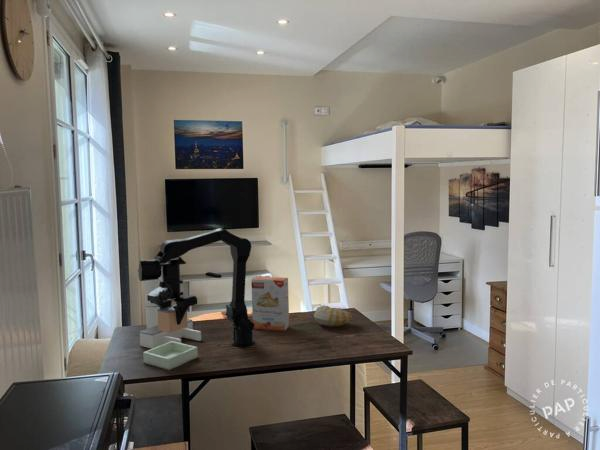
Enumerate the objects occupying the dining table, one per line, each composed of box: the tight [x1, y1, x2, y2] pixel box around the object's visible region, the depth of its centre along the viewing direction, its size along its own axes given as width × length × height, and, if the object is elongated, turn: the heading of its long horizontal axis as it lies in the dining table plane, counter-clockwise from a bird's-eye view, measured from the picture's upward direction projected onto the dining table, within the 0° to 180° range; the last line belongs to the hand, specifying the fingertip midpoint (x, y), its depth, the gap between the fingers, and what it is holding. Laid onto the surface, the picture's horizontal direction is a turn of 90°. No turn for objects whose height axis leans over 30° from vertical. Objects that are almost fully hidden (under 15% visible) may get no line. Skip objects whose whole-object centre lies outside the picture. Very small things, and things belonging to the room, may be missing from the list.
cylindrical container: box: [143, 275, 163, 329], centre depth 190 cm, size 7×7×25 cm
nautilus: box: [313, 304, 353, 327], centre depth 195 cm, size 8×22×15 cm
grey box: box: [158, 304, 188, 333], centre depth 159 cm, size 6×8×7 cm
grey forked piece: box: [138, 318, 202, 349], centre depth 177 cm, size 16×20×5 cm
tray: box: [142, 341, 199, 371], centre depth 159 cm, size 13×13×4 cm
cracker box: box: [251, 275, 290, 332], centre depth 189 cm, size 14×6×21 cm, turn 73°
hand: (172, 323), depth 159 cm, fingers closed on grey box, 5 cm apart
